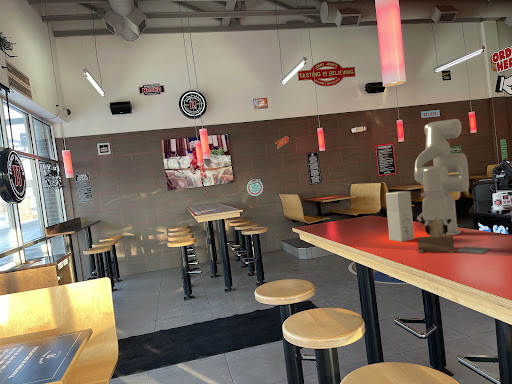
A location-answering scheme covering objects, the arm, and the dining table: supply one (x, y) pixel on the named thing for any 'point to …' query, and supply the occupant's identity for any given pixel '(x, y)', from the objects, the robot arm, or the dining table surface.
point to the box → (436, 228)
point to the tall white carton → (399, 216)
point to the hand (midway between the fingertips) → (436, 233)
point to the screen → (435, 244)
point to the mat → (473, 250)
